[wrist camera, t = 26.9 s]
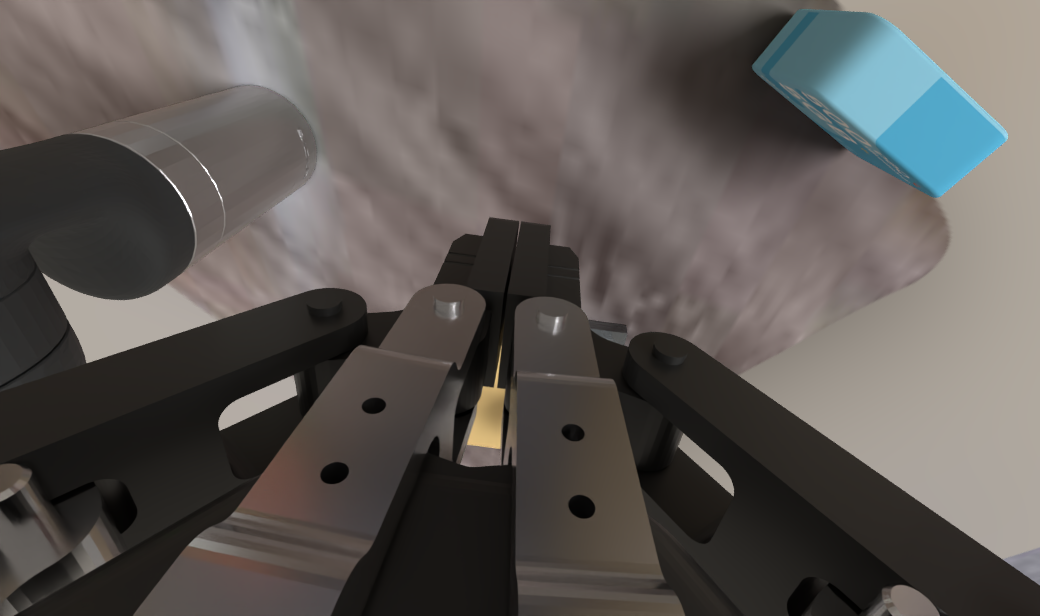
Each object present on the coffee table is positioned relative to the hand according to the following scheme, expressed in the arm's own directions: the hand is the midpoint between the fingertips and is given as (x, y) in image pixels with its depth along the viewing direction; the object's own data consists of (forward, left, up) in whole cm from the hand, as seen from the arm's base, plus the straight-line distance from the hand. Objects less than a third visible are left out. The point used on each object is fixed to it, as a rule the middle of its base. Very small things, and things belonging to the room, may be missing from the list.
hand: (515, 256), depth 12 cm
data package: (+21, +2, -32) cm, 39 cm away
